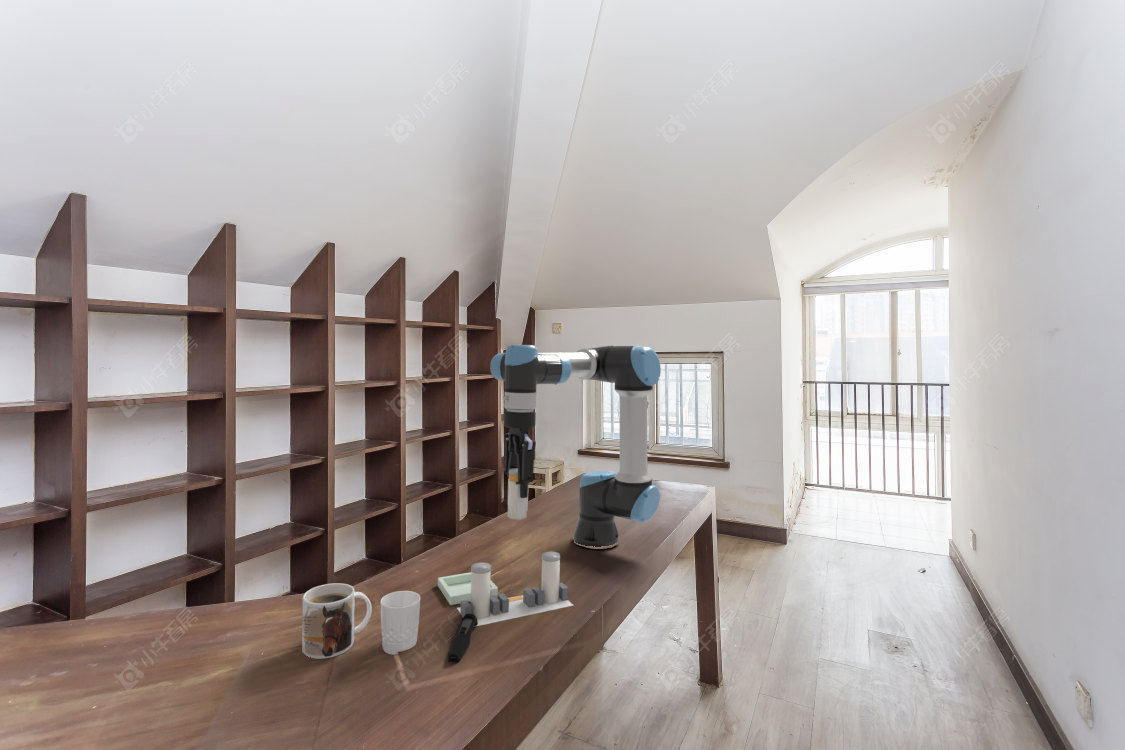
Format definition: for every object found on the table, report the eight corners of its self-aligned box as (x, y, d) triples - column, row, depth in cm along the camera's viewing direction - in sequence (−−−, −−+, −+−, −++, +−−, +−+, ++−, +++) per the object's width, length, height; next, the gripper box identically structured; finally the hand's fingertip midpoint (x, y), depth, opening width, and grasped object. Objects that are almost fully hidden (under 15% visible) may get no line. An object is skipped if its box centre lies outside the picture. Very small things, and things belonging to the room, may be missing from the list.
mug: (318, 630, 116) (318, 580, 116) (373, 633, 116) (373, 582, 116) (292, 658, 106) (293, 602, 105) (352, 660, 105) (353, 605, 105)
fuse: (486, 607, 127) (487, 561, 127) (492, 616, 123) (493, 568, 123) (467, 611, 125) (468, 564, 125) (473, 620, 121) (474, 571, 121)
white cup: (389, 661, 106) (390, 611, 105) (373, 644, 111) (374, 597, 111) (426, 648, 111) (427, 600, 110) (409, 632, 117) (410, 587, 116)
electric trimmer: (442, 668, 104) (442, 652, 104) (462, 622, 120) (462, 609, 119) (461, 669, 104) (462, 654, 104) (479, 623, 119) (479, 610, 119)
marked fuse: (522, 513, 131) (523, 467, 130) (529, 518, 127) (531, 471, 126) (504, 514, 129) (506, 468, 128) (511, 520, 125) (513, 472, 124)
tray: (482, 580, 144) (482, 570, 144) (497, 599, 134) (498, 588, 134) (437, 588, 139) (437, 577, 139) (450, 608, 128) (450, 596, 128)
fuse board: (555, 591, 139) (555, 577, 139) (574, 608, 130) (574, 593, 130) (456, 611, 127) (456, 595, 127) (469, 631, 118) (469, 614, 118)
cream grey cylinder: (553, 594, 136) (555, 550, 135) (562, 601, 132) (563, 556, 131) (537, 597, 134) (538, 553, 133) (545, 605, 130) (546, 559, 129)
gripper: (492, 406, 133) (489, 500, 134) (519, 414, 117) (517, 520, 118) (520, 406, 136) (517, 497, 137) (550, 413, 121) (547, 516, 122)
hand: (517, 507), depth 128 cm, fingers closed on marked fuse, 4 cm apart
